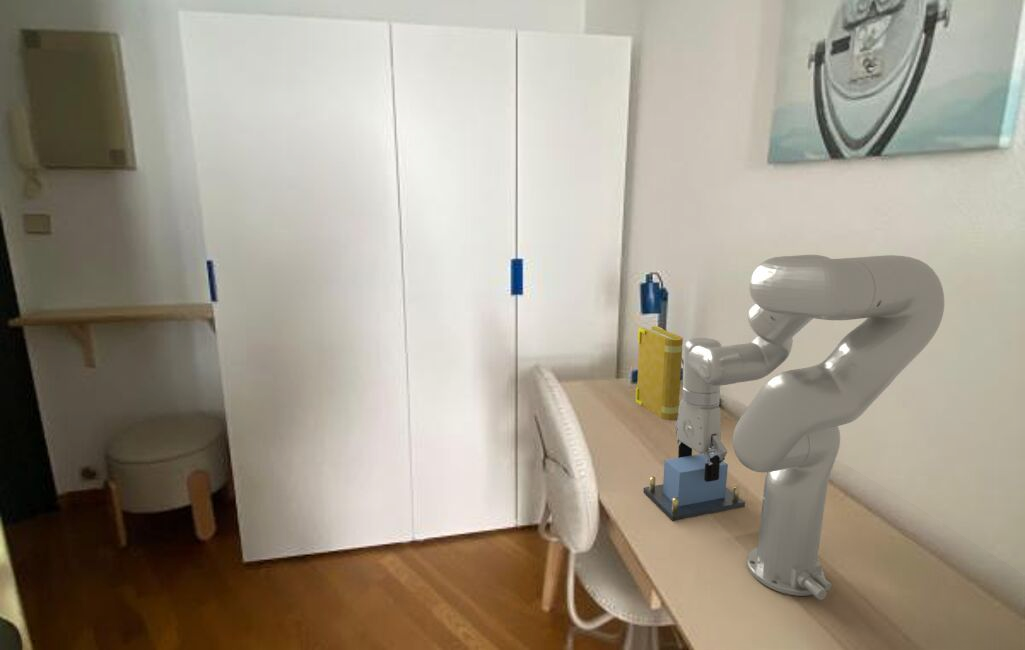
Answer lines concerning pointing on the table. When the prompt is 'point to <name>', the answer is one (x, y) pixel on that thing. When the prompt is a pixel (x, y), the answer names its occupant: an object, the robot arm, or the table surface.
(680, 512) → the dowel plate
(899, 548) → the table surface
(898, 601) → the table surface
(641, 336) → the book
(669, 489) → the blue block
